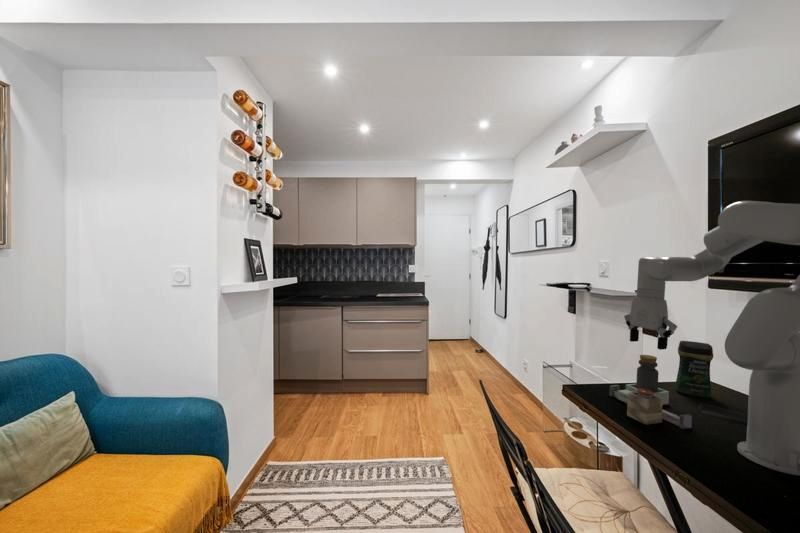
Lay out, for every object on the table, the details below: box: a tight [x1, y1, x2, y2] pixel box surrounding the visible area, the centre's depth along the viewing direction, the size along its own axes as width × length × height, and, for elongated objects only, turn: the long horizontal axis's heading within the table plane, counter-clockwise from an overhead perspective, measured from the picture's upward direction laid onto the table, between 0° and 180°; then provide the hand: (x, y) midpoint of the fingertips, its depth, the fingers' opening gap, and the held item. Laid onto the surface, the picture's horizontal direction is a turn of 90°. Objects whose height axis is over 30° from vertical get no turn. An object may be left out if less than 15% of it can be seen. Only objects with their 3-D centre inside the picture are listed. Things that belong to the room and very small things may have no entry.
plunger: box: [637, 388, 653, 399], centre depth 102 cm, size 4×4×5 cm
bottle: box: [635, 354, 659, 393], centre depth 115 cm, size 6×6×15 cm
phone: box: [697, 402, 748, 426], centre depth 105 cm, size 8×1×15 cm
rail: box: [608, 384, 693, 430], centre depth 108 cm, size 24×3×4 cm, turn 16°
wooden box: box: [626, 391, 663, 425], centre depth 102 cm, size 6×6×7 cm
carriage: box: [617, 383, 670, 406], centre depth 115 cm, size 8×13×4 cm, turn 106°
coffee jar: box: [674, 340, 714, 399], centre depth 122 cm, size 10×8×19 cm
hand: (647, 345), depth 115 cm, fingers open, 9 cm apart
